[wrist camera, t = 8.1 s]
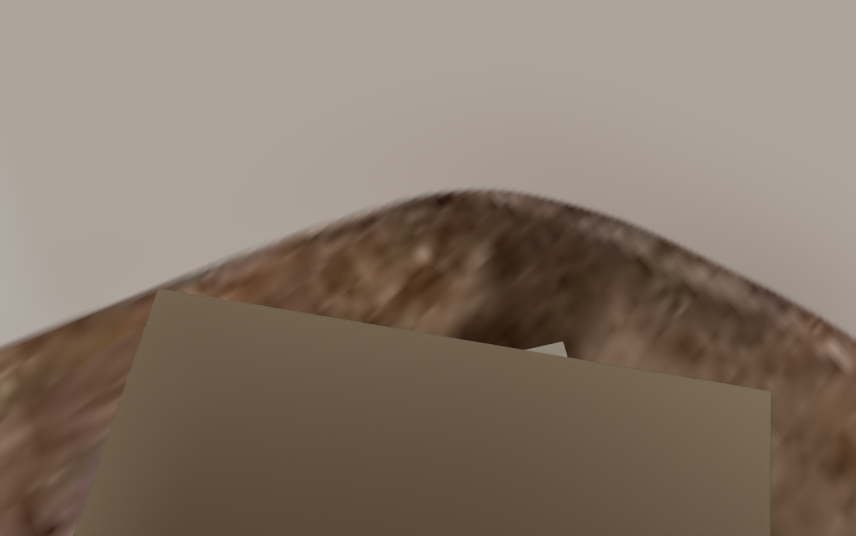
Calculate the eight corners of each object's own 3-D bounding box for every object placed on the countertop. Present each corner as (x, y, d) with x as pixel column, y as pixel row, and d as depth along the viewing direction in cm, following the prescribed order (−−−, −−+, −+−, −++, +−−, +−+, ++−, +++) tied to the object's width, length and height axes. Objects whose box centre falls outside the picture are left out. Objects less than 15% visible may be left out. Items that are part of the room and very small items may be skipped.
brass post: (529, 581, 14) (766, 1472, 2) (386, 547, 15) (-108, 1057, 3) (547, 428, 15) (770, 391, 3) (413, 403, 16) (157, 287, 4)
